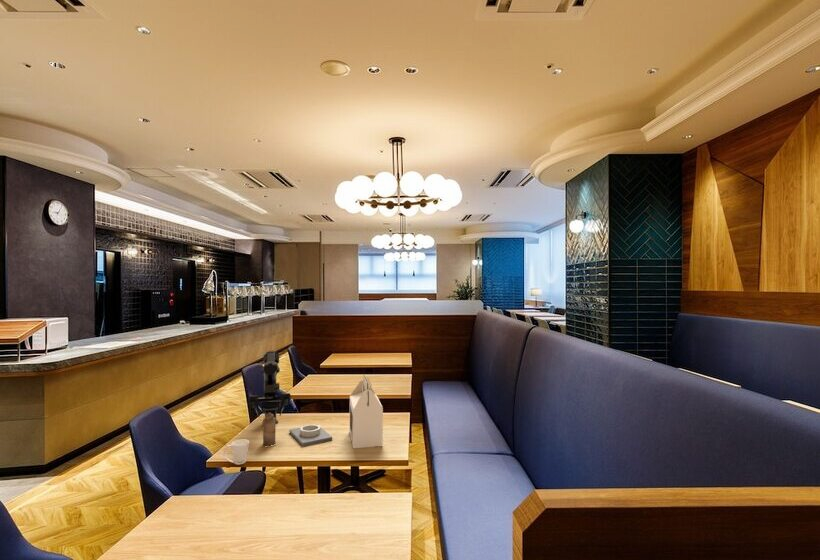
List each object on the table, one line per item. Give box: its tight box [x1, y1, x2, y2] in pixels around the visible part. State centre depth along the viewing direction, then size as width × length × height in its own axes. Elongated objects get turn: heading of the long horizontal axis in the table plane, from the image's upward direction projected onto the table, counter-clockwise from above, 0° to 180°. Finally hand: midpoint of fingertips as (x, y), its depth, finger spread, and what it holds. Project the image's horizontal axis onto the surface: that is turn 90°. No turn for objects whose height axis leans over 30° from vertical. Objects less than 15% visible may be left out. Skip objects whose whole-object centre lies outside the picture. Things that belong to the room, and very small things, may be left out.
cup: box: [222, 438, 250, 466], centre depth 169 cm, size 7×10×8 cm
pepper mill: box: [262, 413, 277, 447], centre depth 188 cm, size 5×5×14 cm
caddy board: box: [288, 424, 333, 447], centre depth 198 cm, size 20×14×4 cm
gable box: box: [349, 374, 384, 449], centre depth 196 cm, size 22×13×28 cm, turn 12°
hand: (269, 416), depth 192 cm, fingers open, 9 cm apart
